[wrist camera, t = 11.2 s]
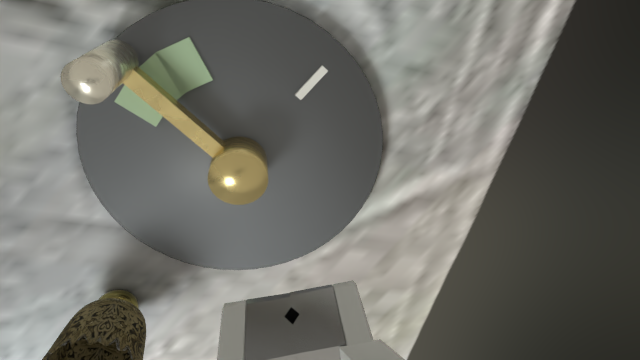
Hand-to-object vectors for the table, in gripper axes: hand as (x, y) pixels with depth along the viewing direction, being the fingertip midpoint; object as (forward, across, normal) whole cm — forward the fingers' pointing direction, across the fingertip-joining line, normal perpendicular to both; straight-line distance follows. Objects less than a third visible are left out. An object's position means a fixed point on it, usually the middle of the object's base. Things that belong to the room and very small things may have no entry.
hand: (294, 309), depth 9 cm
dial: (+23, -4, -7) cm, 24 cm away
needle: (+22, -6, -3) cm, 23 cm away
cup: (+23, -18, -20) cm, 36 cm away
